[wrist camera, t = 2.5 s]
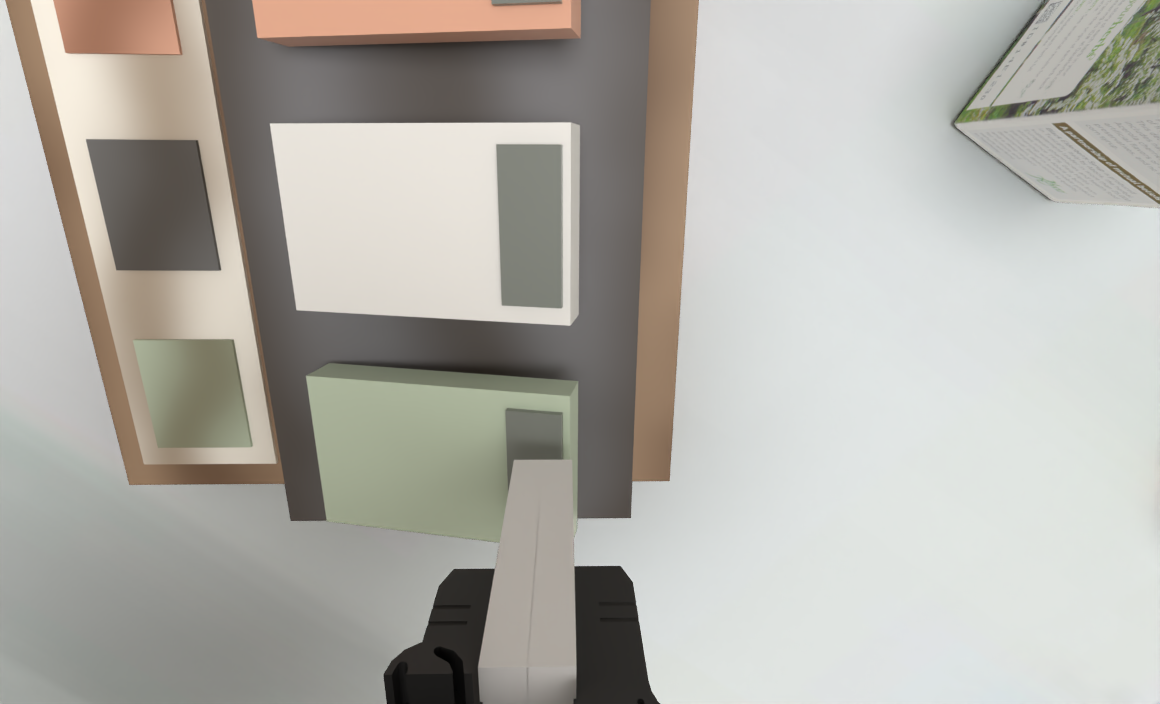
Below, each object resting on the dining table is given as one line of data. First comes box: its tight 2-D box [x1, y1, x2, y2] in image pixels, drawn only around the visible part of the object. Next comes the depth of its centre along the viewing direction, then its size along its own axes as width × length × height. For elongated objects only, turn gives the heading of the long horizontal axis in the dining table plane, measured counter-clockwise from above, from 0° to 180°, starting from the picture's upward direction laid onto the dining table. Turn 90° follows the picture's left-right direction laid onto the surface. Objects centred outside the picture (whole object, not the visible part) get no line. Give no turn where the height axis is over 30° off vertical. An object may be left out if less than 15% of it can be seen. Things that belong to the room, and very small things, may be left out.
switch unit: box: [5, 0, 699, 521], centre depth 20 cm, size 22×22×6 cm
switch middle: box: [270, 122, 580, 326], centre depth 16 cm, size 8×5×1 cm, turn 90°
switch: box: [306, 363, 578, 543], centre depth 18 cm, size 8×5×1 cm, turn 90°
